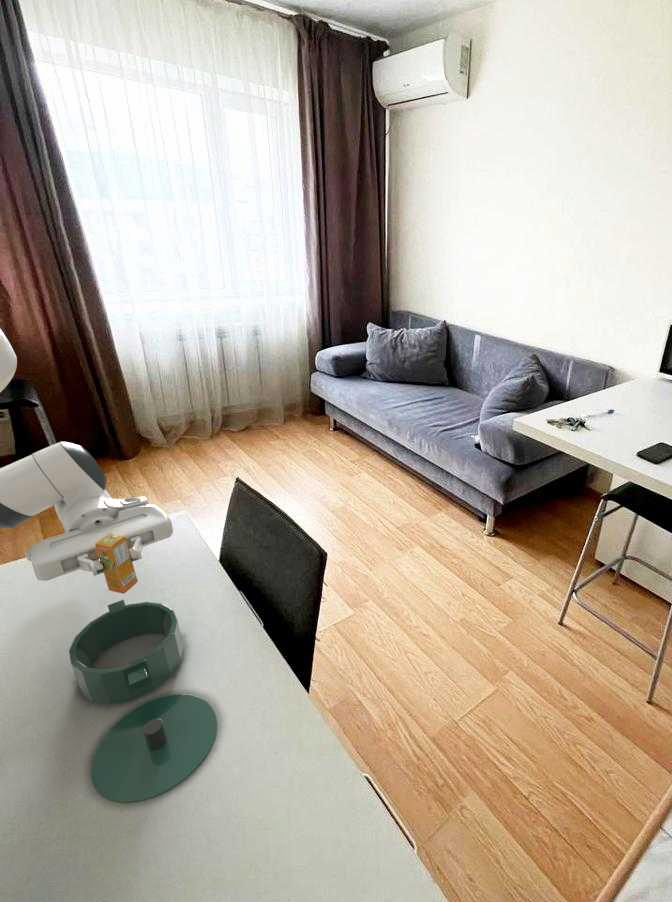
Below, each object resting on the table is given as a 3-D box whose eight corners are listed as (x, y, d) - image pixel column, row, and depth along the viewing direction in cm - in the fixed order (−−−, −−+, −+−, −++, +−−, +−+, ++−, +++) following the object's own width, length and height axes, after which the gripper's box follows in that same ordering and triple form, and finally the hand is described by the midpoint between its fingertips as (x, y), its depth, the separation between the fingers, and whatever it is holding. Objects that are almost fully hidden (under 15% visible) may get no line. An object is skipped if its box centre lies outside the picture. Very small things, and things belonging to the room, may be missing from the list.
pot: (90, 739, 71) (77, 704, 68) (74, 650, 85) (63, 617, 82) (198, 686, 80) (191, 653, 77) (168, 613, 94) (161, 582, 90)
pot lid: (102, 834, 61) (93, 812, 59) (85, 737, 71) (77, 716, 70) (232, 757, 70) (228, 736, 68) (200, 681, 81) (196, 661, 79)
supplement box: (106, 591, 82) (92, 542, 78) (123, 578, 86) (110, 530, 81) (122, 595, 82) (110, 546, 78) (139, 582, 85) (127, 534, 81)
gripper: (17, 533, 81) (32, 576, 73) (154, 493, 95) (180, 525, 86) (28, 563, 84) (44, 608, 75) (160, 520, 97) (185, 554, 89)
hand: (118, 563), depth 81 cm, fingers closed on supplement box, 4 cm apart
